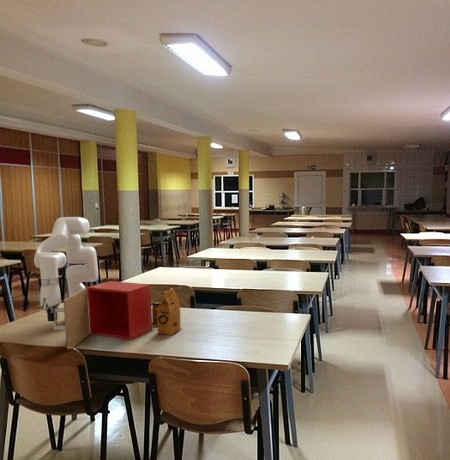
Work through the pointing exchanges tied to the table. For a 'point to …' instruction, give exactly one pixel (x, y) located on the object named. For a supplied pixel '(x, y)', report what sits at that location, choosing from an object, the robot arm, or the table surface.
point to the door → (74, 318)
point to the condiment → (155, 313)
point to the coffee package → (169, 313)
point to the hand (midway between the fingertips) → (52, 320)
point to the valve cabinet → (120, 309)
